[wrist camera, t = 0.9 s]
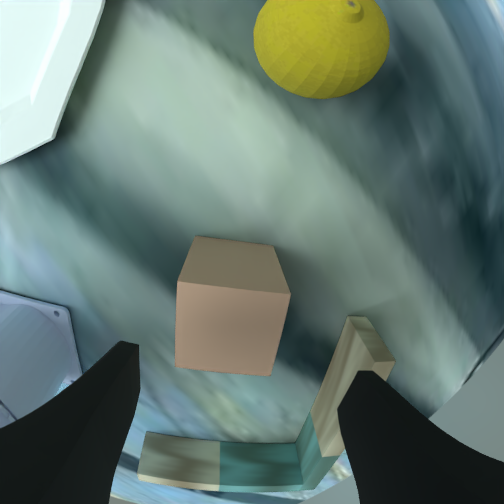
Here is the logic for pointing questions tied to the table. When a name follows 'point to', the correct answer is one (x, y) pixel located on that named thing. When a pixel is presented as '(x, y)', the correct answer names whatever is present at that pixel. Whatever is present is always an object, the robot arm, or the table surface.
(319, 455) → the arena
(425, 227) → the table surface
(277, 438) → the table surface
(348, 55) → the lemon
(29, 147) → the plate
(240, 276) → the block
